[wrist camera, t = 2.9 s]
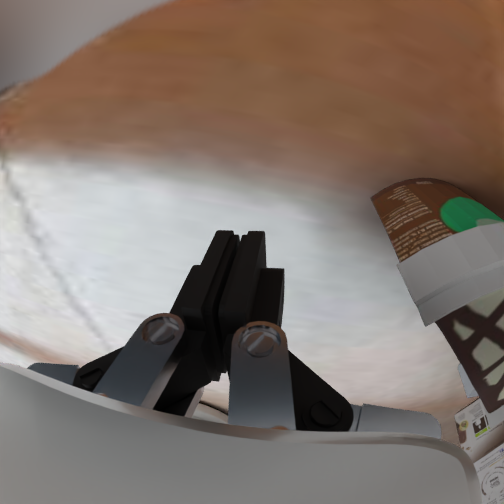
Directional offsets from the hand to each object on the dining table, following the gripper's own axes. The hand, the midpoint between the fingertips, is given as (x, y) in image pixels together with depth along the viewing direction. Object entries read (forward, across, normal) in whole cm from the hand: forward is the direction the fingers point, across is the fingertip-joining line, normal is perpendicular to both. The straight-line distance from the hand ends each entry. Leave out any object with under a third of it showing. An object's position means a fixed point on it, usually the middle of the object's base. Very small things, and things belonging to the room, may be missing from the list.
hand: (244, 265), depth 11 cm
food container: (+6, -11, +1) cm, 13 cm away
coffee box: (+6, -28, +25) cm, 38 cm away
